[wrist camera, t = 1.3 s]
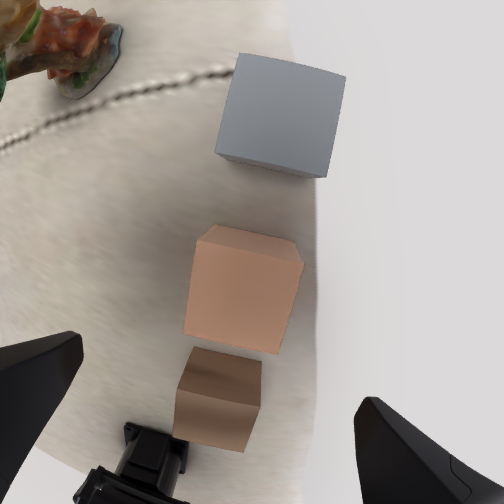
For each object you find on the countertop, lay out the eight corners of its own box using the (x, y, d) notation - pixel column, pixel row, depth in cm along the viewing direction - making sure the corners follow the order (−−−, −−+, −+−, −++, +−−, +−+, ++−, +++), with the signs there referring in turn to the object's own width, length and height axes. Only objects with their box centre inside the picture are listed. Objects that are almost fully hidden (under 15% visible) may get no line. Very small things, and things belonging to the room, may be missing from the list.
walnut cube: (247, 407, 21) (243, 452, 17) (187, 393, 21) (172, 437, 17) (261, 360, 20) (260, 407, 15) (194, 345, 20) (176, 388, 15)
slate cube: (309, 178, 17) (326, 177, 12) (228, 160, 17) (214, 152, 12) (325, 102, 16) (346, 76, 11) (245, 84, 16) (239, 52, 11)
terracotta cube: (275, 313, 19) (277, 354, 14) (201, 297, 19) (182, 333, 14) (294, 241, 18) (304, 264, 13) (215, 223, 18) (197, 240, 13)
